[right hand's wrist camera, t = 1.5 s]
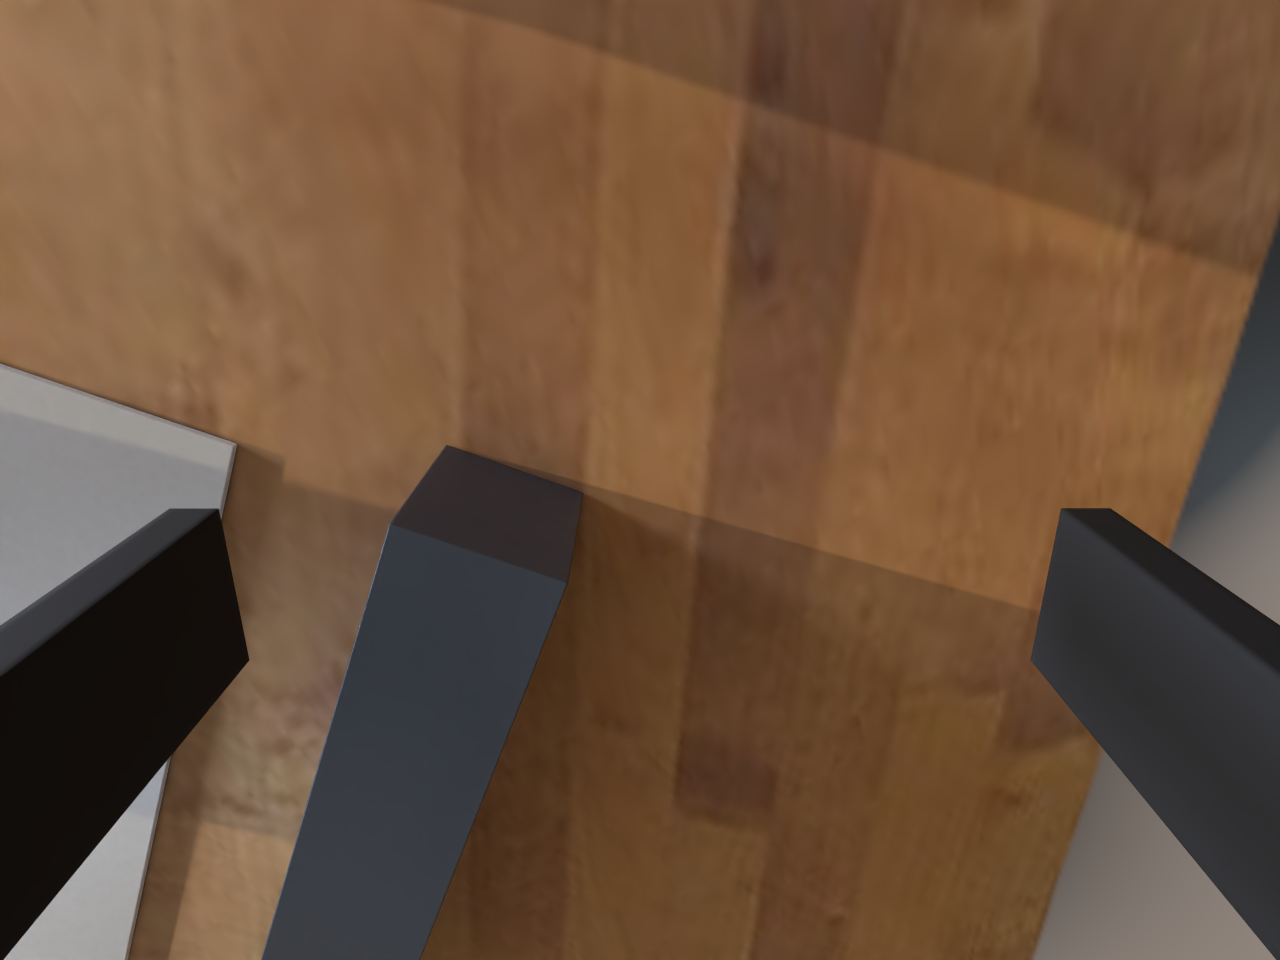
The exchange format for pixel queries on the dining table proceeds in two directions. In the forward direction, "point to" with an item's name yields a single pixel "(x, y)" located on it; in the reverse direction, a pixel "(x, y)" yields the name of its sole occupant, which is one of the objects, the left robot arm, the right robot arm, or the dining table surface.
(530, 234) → the dining table surface
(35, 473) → the mat
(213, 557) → the right robot arm
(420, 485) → the beam
